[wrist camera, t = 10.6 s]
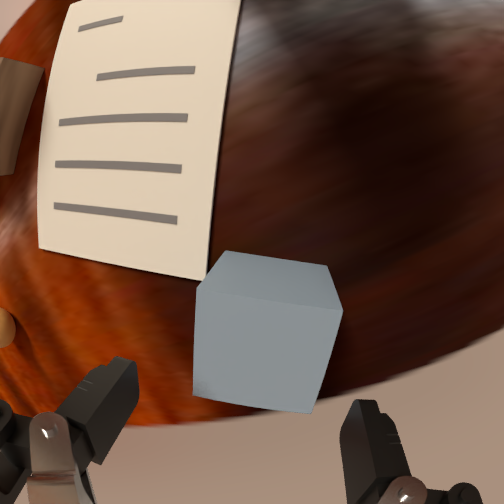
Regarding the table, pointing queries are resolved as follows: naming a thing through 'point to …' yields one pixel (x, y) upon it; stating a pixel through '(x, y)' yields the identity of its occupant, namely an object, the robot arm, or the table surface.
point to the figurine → (6, 328)
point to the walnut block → (15, 107)
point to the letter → (135, 132)
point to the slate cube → (264, 332)
